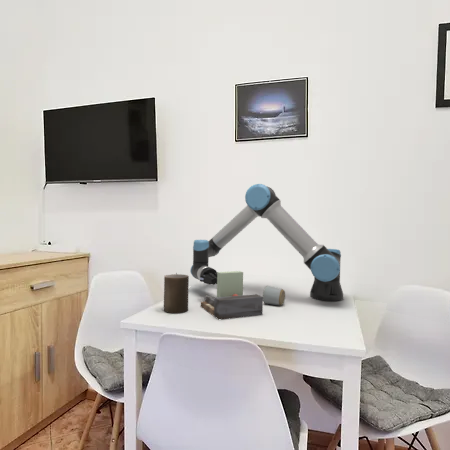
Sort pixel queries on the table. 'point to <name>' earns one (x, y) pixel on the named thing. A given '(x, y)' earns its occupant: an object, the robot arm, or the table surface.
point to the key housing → (234, 306)
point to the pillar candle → (176, 293)
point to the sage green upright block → (229, 283)
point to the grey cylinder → (273, 295)
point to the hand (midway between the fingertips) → (228, 284)
